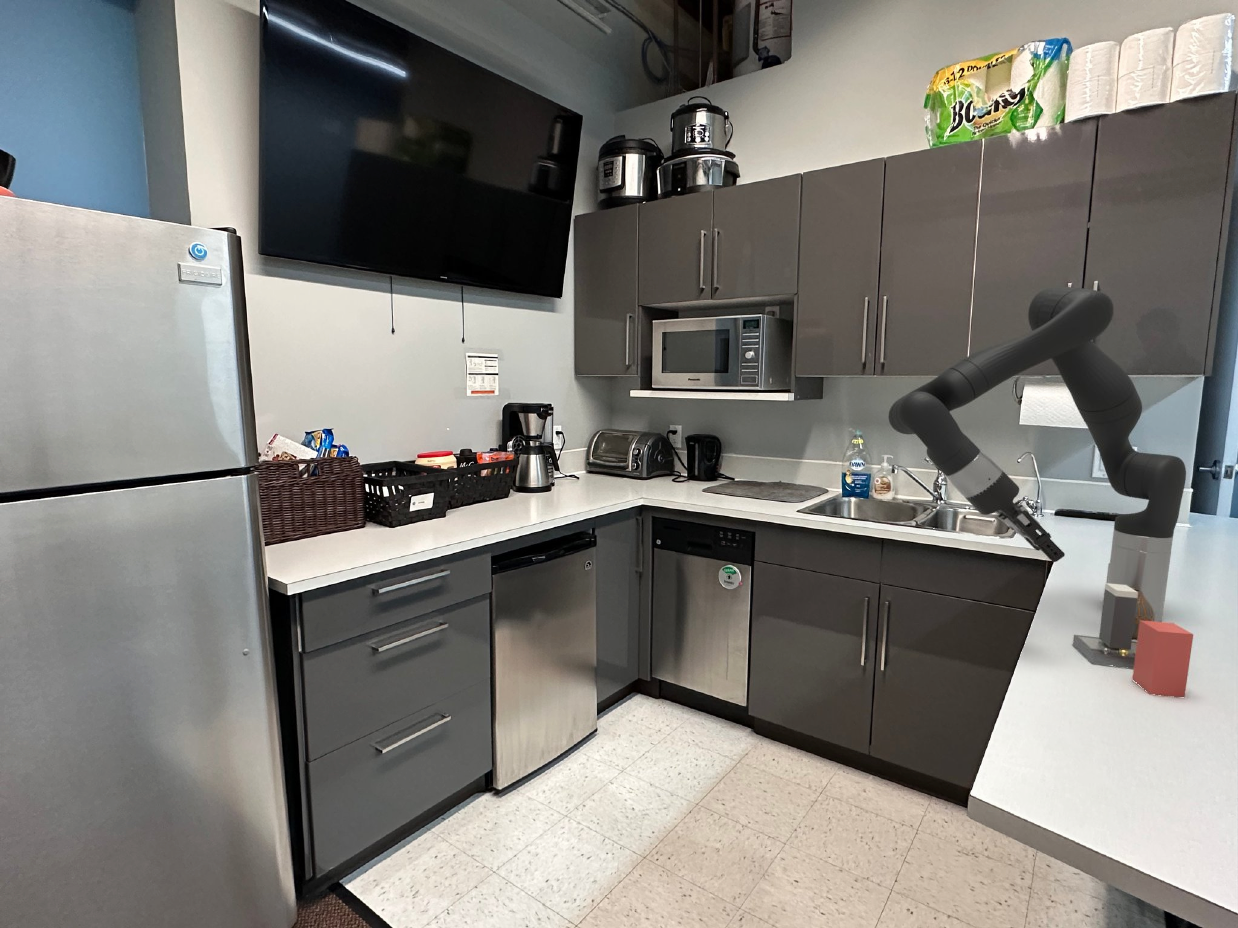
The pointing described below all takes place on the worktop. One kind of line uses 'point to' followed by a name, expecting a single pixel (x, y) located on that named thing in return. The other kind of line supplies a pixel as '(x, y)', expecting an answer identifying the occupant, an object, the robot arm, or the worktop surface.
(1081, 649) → the ball-studded metal plate
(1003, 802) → the worktop surface
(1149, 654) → the block
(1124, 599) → the block
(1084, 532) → the worktop surface
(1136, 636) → the vase
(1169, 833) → the worktop surface
